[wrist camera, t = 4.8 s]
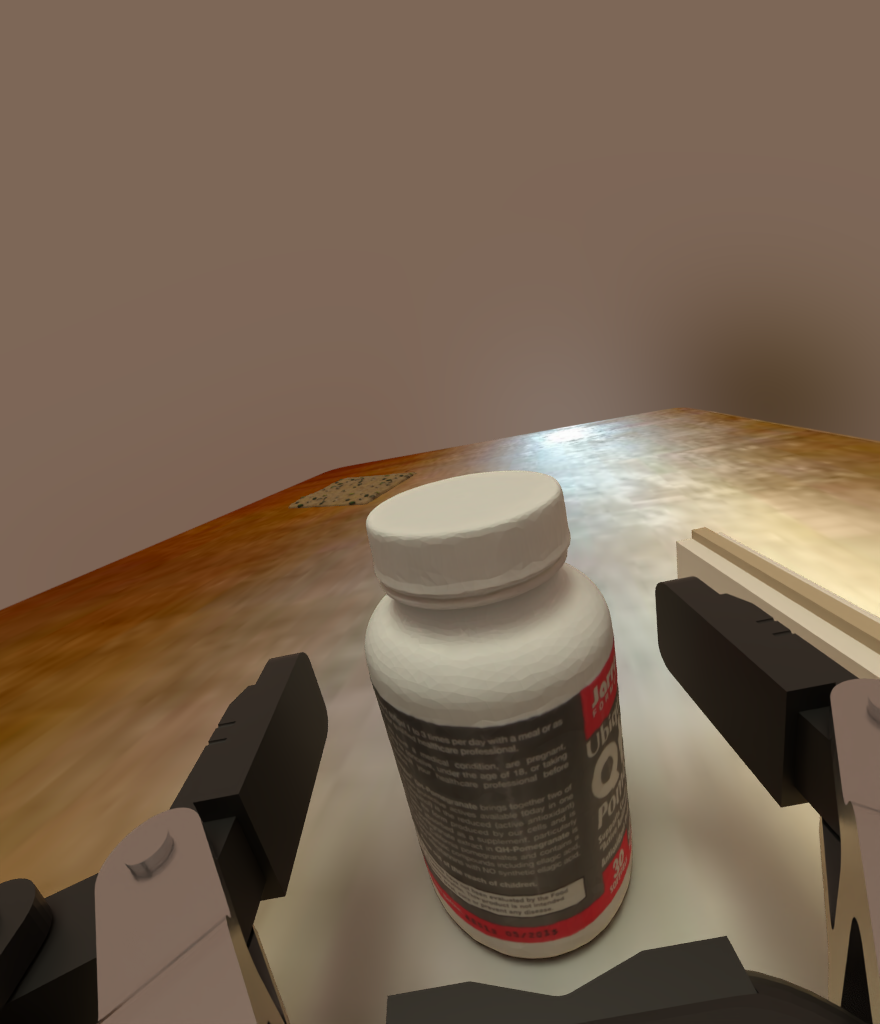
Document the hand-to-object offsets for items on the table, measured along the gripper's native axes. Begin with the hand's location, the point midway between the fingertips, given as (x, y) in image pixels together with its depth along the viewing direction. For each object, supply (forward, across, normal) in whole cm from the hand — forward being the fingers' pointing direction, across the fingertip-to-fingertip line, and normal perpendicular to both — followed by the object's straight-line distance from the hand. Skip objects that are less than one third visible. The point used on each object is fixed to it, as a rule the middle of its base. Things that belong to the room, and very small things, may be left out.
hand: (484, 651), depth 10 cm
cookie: (+46, +11, +7) cm, 48 cm away
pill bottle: (0, 0, +6) cm, 6 cm away
